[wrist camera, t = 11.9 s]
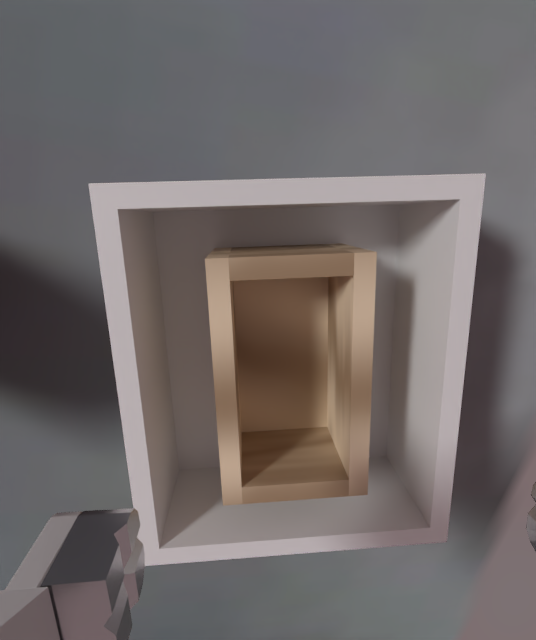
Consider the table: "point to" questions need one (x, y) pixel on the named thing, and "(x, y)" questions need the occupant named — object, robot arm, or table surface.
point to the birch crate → (292, 369)
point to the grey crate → (197, 368)
